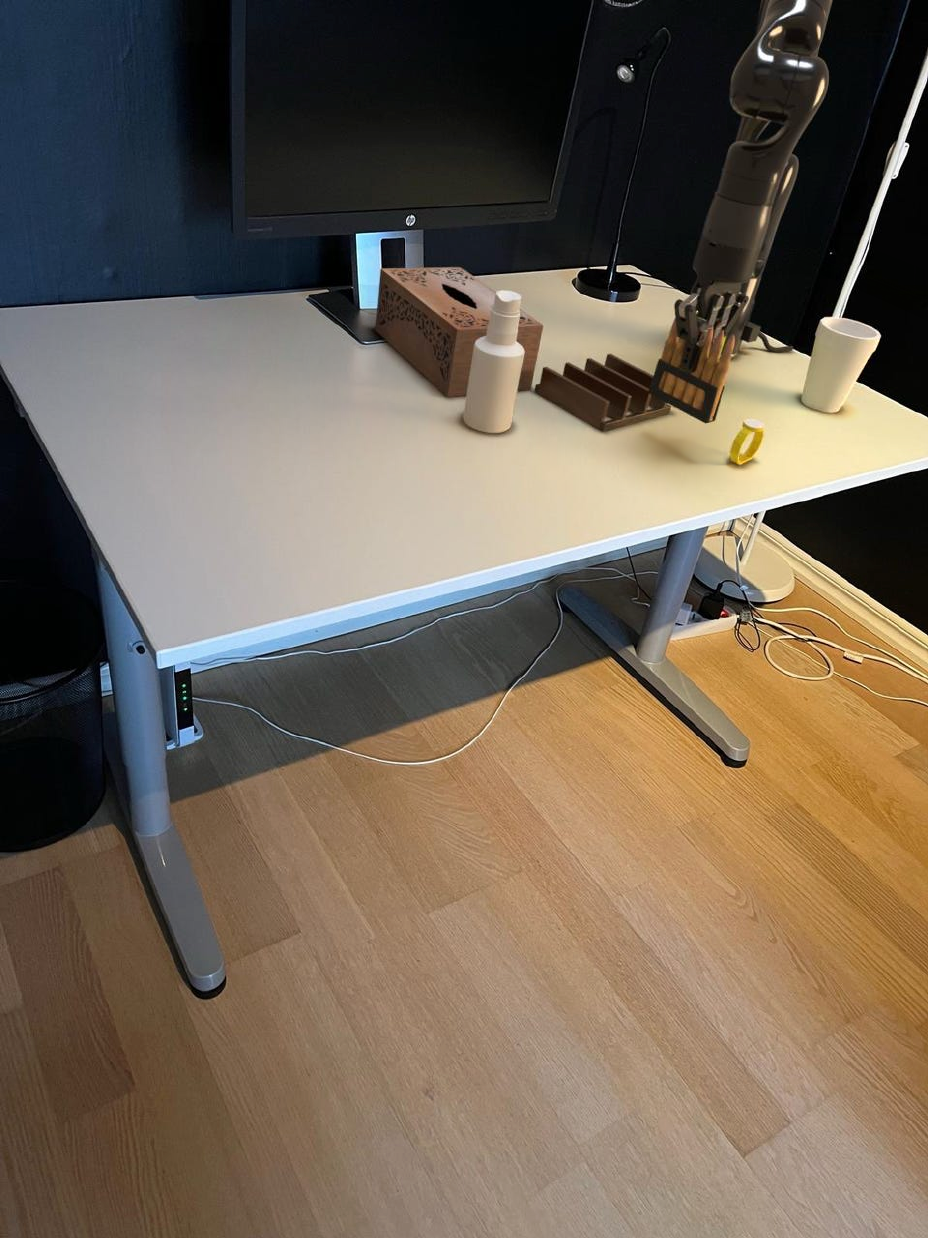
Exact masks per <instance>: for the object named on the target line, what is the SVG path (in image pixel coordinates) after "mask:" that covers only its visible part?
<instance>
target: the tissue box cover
mask: <svg viewBox="0 0 928 1238" xmlns="http://www.w3.org/2000/svg"><path fill="white" fill-rule="evenodd" d="M496 292H497V291H495V290H494V289H493V288H491V287H489V286H488V285H487V284H486V283H484V282H482V281H481V280H479V279H478V278H477V277H475V276H474V275H472V274H471V273H469V272H468V271H467V270H466V269H464V268H462V267H461V266H446V267H443V266H442V267H441V266H439V267H399V268H398V267H392V268H391V267H388V268H386V267H385V268H380V271H379V282H378V292H377V294H378V295H377V303H376V304H377V305H376V315H375V316H376V318H375V327H374V331H375V332H376V333H377V334H378V335H380V336H381V338H383V339H384V340H385V341H386V342H387V343H388V344H389V345H390V346H392V348H394V350H395V351H397V352H398V353H399V354H400V355H401V356H402V357H403V358H405V360H407V361H408V362H409V363H410V364H411V365H412V366H414V368H415V369H416V370H418V372H419V373H421V374H422V375H423V376H424V377H425V378H426V379H427V380H428V381H430V382H431V383H432V384H433V385H434V386H435V387H436V388H437V389H438V390H439V391H441V393H443V394H444V395H445V396H446V397H447V398H453V397H462V396H465V397H466V395H467V388H468V382H469V375H470V369H471V362H472V356H473V349H474V344H475V342H476V340H478V339H479V338H481V337H484V336H486V334H487V328H488V324H489V319H490V313H491V309H492V308H493V305H494V300H495V293H496ZM543 330H544V325H543V324H542V323H541V322H540V321H538V320H536V319H535V318H534V317H532V316H530V315H529V314H528V313H526V312H525V311H524V310H522V309H520V319H519V325H518V334H517V339H516V341H517V342H518V343H519V344H520V345H522V347H523V348H524V350H525V353H524V359H523V364H522V369H521V375H520V380H519V385H518V391H517V392H519V391H528V390H529V391H531V390H532V385H533V380H534V375H535V371H536V365H537V360H538V355H539V350H540V345H541V339H542V336H543V335H542V334H543Z"/></svg>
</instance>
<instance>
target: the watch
mask: <svg viewBox="0 0 928 1238" xmlns="http://www.w3.org/2000/svg"><path fill="white" fill-rule="evenodd" d="M752 433H753V438H752V440H751V442H750V443H749V445H748V447H747V448H746V450H745V451H744V453H743V454H740V453H741V450H742V448H743V445H744V444H745V442H746V441H747V438H748V437H749V436H750V435H751V434H752ZM764 437H765V427H764V424H763V422H761V421H760V420H757V419H752V418H747V419H744V420H743V422H742V427H741V429H740V430H739V432H738V433H737V434H736V436H735V437H734V439H733V442H732V443H731V447H730V449H729V460H730V461H731V462H733V463H734V464H736V465H738V466H740V465H743V464H744V463H746V462H748V461H752V459H753V458H754V457H755V455H757V452H758V451H759V449H760V447H761V446H762V443H763V440H764Z"/></svg>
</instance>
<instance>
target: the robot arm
mask: <svg viewBox="0 0 928 1238" xmlns="http://www.w3.org/2000/svg"><path fill="white" fill-rule="evenodd" d="M832 4H833V0H761V3H760V6H759V11H758V15H757V20H756V24H755V29H754V33H753V38H752V42H751V43H750V45H749V46H748V47H747V49H746V50H745V51H744V53H743V54H742V55H741V57H740V59H739V60H738V62H737V64H736V65H735V67H734V70H733V71H732V74H731V78H730V80H729V83H728V84H729V85H728V100H729V103H730V106H731V108H732V109H733V111H734V112H735V113H736V114H738V115H739V118H738V123H737V126H736V130H735V135H734V139H733V142H732V144H731V145H730V146H729V148H728V149H727V152H726V154H725V158H724V161H723V164H722V168H721V171H720V175H719V179H718V182H717V186H716V189H715V192H714V195H713V198H712V200H711V203H710V205H709V208H708V210H707V213H706V217H705V219H704V223H703V227H702V230H701V234H700V238H699V242H698V243H697V244H698V245H697V248H696V251H695V255H694V258H693V262H692V268H693V270H694V271H695V273H696V276H697V277H696V279H695V282H694V284H693V285H692V287H691V290H690V295H689V296H687V298H685V299H684V300H682V299H680V298H678V299H677V300H676V301H675V302H674V304H673V308H674V319H676V329H677V337H678V339H679V338H680V339H683V340H685V341H686V345H685V349H684V352H683V355H682V359H681V363H680V367H681V369H683V370H685V371H687V372H689V373H692V372H695V371H696V368H697V365H698V362H699V359H700V355H701V352H702V349H703V346H702V345H703V344H704V341H705V338H706V335H707V332H708V330H710V329H712V328H713V337H712V342H711V345H710V350H709V355H710V352H711V349H712V347H713V344H714V341H715V339H716V337H717V335H718V334H719V332H720V331H721V330H723V331H724V337H726V339H725V342H724V345H723V349H722V352H721V355H722V353H723V350H724V348H725V345H726V343H727V341H728V340H729V338H730V337H731V336H732V335H733V334H734V337H735V340H734V348H733V352H732V355H731V359H734V358H735V357H736V356H737V355H738V353H739V352H740V348H741V346H742V342H746V343H748V344H750V343H753V342H756V341H757V340H758V338H760V339H761V341H762V344H763V346H764V348H765V349H766V350H767V351H769V352H772V353H784V352H792V351H793V350H794V346H793V345H786V346H780V347H775V346H773V345H771V344H770V342H769V339H768V337H767V336H766V334H764V333H763V332H762V331H761V326H760V325H758V324H755V323H753V322H751V321H750V318H751V315H752V314H753V313H752V312H753V310H754V306H755V303H756V301H755V299H756V295H757V291H758V289H759V286H760V282H761V280H762V276H763V273H764V270H765V267H766V264H767V261H768V259H769V256H770V252H771V249H772V246H773V243H774V240H775V237H776V233H777V231H778V227H779V225H780V222H781V220H782V216H783V214H784V211H785V208H786V206H787V204H788V201H789V198H790V196H791V194H792V191H793V188H794V185H795V183H796V180H797V175H798V172H799V165H800V164H799V159H798V156H796V155H795V154H794V153H792V152H793V151H794V150H795V147H796V146H797V144H798V141H799V140H800V139H801V137H802V135H803V134H804V132H805V130H806V129H807V127H808V126H809V124H810V122H811V121H812V120H813V117H814V116H815V114H816V113H817V111H818V110H819V108H820V106H821V104H822V103H823V102H824V99H825V97H826V94H827V91H828V87H829V84H830V83H829V82H830V81H829V80H830V76H829V69H828V66H827V64H826V62H825V60H824V59H822V58H821V57H819V56H818V54H819V50H820V46H821V44H822V41H823V38H824V34H825V30H826V26H827V24H828V23H827V22H828V19H829V15H830V11H831V8H832ZM770 123H776V124H780V125H781V127H780V129H779V130H778V131H777V132H776V133H775V134H773V135H772V136H771V137H769V138H768V137H767V138H764V139H758V138H759V137H760V135H761V134H762V133H763V132H764V130H765V129H766V128H767V126H769V124H770ZM752 274H754V276H752ZM698 317H700V318H698ZM697 327H699V328H700V331H699V334H698V335H697ZM686 329H687V330H686ZM709 355H708V357H709ZM721 355H720V358H721ZM720 358H719V360H720Z"/></svg>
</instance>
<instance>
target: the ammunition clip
mask: <svg viewBox="0 0 928 1238" xmlns="http://www.w3.org/2000/svg"><path fill="white" fill-rule="evenodd" d="M686 330H687V329H686ZM699 331H700V328H699V327H697V335H698V334H699ZM712 337H713V328H712V329H710V330H708V332H707V335H706V338H705V341H704V344H703V345H702V346H703V349H702V352H701V355H700V359H699V362H698V365H697V368H696V371H695V372H692V373H689V372H687V371H685V370H683V369H681V367H680V363H681V359H682V355H683V352H684V349H685V345H686V341H685V340H683V339H680V338H678V337H677V329H676V319H675V318H674V319H673V321H672V325H671V327H670V330H669V333H668V336H667V338H666V339H665V342H664V346H663V350H662V353H661V357H660V358H659V359H658V360H657V363H656V366H655V369H654V373H653V379H652V382H651V385H650V388H649V391H648V393H649V394H651V395H653V396H655V397H657V398H658V399H660V400H662V401H664V402H666V403H668V405H670V406H671V407H673V408H675V409H677V410H679V411H681V412H683V413H684V414H687V415H688V416H690V417H692V418H694V419H696V420H698V421H700V422H702V423H704V424H710V423H713V422H716V419H717V415H718V412H719V408H720V405H721V402H722V398H723V395H724V391H725V388H726V387H725V383H726V379H727V376H728V373H729V370H730V364H731V363H730V362H731V360H732V358H731V355H732V352H733V348H734V340H735V337H734V334H733V335H732V336H731V337H730V338H729V340H728V341H727V343H726V345H725V348H724V350H723V353H722V355H721V358H720V359H719V356H720V352H721V348H722V344H723V339H724V331H723V330H721V331H720V332H719V334H718V335H717V337H716V339H715V341H714V344H713V347H712V349H711V352H710V355H709V350H710V345H711V342H712ZM708 355H709V357H708Z"/></svg>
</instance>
